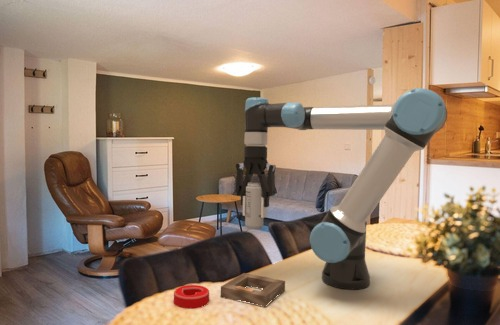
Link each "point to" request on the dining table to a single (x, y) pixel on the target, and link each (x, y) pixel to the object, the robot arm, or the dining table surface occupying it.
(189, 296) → the decorative ornament
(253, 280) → the frame
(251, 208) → the energy drink can
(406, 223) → the dining table surface
